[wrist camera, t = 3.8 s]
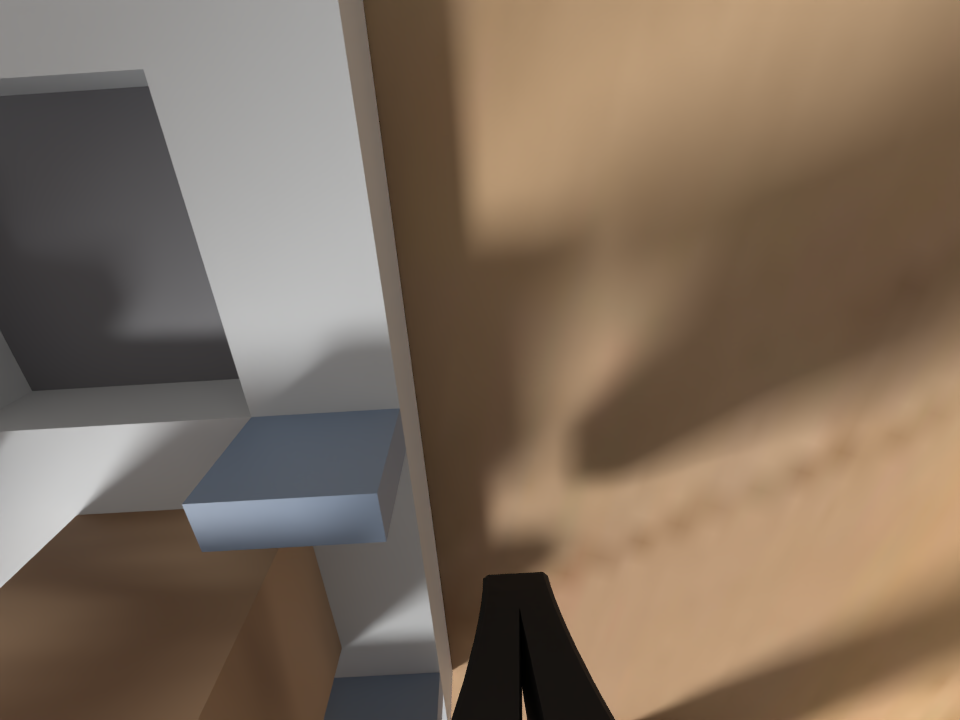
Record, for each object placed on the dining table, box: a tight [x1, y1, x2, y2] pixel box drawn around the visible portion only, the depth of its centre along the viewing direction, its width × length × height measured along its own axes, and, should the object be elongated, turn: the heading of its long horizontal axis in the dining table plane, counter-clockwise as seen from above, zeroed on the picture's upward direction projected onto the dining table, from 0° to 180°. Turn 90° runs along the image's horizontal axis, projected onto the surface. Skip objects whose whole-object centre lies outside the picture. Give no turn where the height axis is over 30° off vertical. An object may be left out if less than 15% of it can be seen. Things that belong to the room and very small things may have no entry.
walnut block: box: [0, 509, 342, 720], centre depth 9 cm, size 5×5×5 cm
